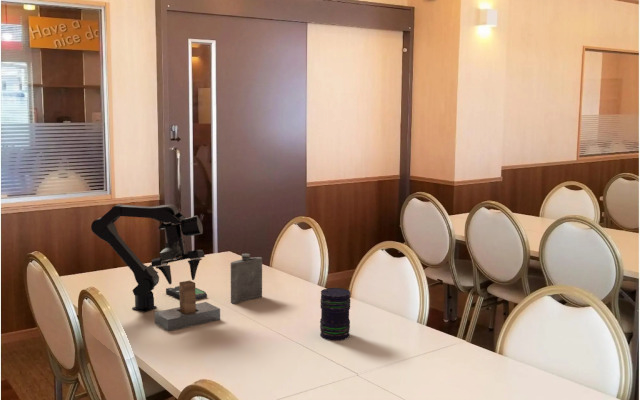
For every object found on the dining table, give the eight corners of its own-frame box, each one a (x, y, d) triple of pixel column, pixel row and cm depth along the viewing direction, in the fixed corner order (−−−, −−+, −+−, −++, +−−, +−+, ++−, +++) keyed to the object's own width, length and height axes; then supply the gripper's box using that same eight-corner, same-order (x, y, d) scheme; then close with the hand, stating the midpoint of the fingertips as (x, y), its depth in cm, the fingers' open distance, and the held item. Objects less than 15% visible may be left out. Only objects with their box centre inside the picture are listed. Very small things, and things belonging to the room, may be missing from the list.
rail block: (154, 323, 233) (154, 312, 232) (206, 312, 245) (205, 301, 245) (168, 331, 225) (167, 319, 225) (220, 319, 238) (220, 308, 237)
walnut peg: (180, 321, 236) (179, 282, 234) (190, 318, 238) (189, 280, 236) (185, 324, 233) (184, 284, 231) (195, 321, 235) (195, 282, 233)
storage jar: (353, 332, 226) (354, 289, 224) (344, 342, 217) (345, 297, 215) (325, 329, 230) (326, 286, 227) (315, 338, 220) (316, 294, 218)
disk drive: (165, 295, 268) (184, 303, 257) (165, 288, 268) (184, 296, 257) (188, 290, 275) (207, 298, 264) (188, 284, 275) (207, 291, 264)
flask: (228, 301, 258) (227, 256, 256) (257, 295, 268) (257, 250, 265) (233, 304, 256) (233, 257, 253) (263, 297, 265) (263, 252, 263)
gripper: (140, 244, 238) (147, 288, 237) (187, 234, 233) (195, 279, 232) (156, 244, 249) (163, 285, 247) (201, 234, 244) (208, 276, 243)
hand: (181, 282), depth 242 cm, fingers open, 9 cm apart
